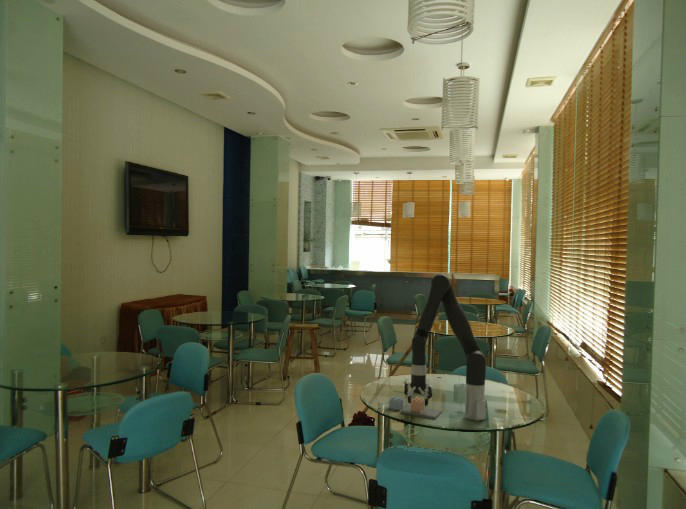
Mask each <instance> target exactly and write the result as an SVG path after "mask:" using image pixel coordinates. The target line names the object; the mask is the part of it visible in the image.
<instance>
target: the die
mask: <svg viewBox="0 0 686 509" xmlns="http://www.w3.org/2000/svg"><path fill="white" fill-rule="evenodd" d="M426 386H432V387H433V385H432V382H431V380H430V378H429V377H426ZM425 391H426V392H427V393H428V390H427V388H426V389H425Z"/></svg>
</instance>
